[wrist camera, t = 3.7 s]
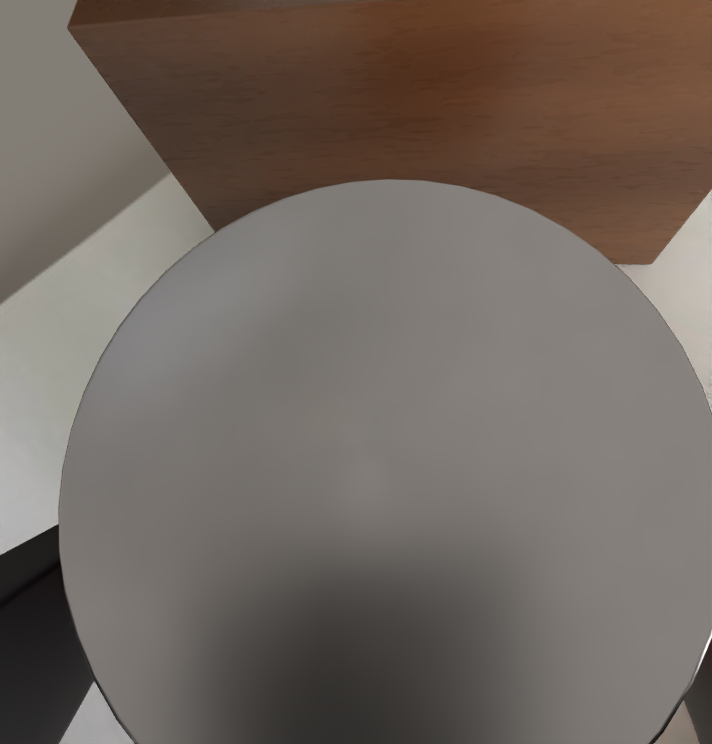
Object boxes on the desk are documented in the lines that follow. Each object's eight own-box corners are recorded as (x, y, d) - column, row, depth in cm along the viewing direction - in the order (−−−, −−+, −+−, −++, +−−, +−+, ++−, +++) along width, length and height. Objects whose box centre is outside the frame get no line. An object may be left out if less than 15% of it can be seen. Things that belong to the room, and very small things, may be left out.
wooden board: (652, 265, 18) (901, -45, 8) (235, 261, 20) (65, 27, 11) (646, 208, 18) (869, -135, 9) (245, 212, 21) (93, -46, 12)
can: (517, 635, 15) (795, 978, 3) (301, 605, 16) (-33, 783, 4) (517, 417, 17) (691, 170, 5) (326, 405, 18) (138, 182, 7)
